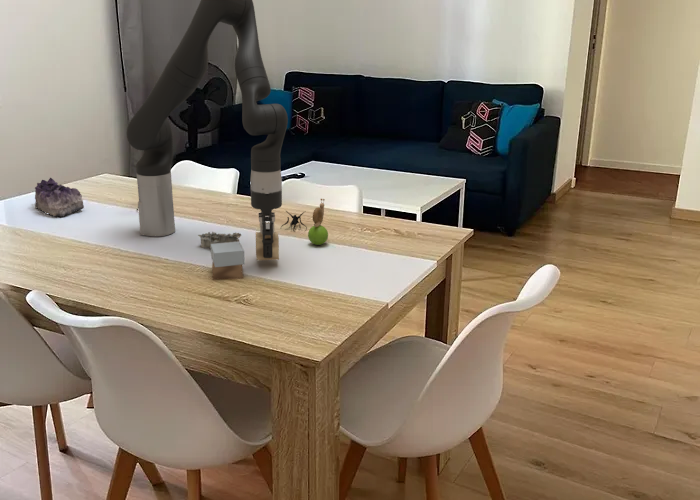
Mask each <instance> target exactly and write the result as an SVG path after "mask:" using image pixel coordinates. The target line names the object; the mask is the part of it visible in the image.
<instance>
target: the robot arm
mask: <svg viewBox="0 0 700 500" xmlns="http://www.w3.org/2000/svg"><path fill="white" fill-rule="evenodd" d="M219 23H223V24H225V25H226V24H227V25H229V26H232V27H233V30H234V31H235V35H236V37H237V41H238V42H237V43H238V44H237V45H238V46H237V47H238V48H237V50H236V51H237V52H236V55H235V58H234V72H235V75H236V76H235V77H236V79H237V82H238V85H239V90H240V93H241V104H242V107H241V108H242V111H241V112H242V115H241V119H242V121H241V122H242V126H243V129H244V130H245V131H246V133H248V134H249V135H250V136H264V135H267V137H266V139H264V140H263V141H262V142H261V143H260V142H259V143H257V144H255V145H253V146H252V147H251V150H250V166H251V167H250V169H251V171H250V205H251V207H252V208H253V209H255V210H260V212H258V223H259V230H260V231H259V232H260V233H261V234H262V237H263V240H262V242H263V257H264V258H272V243H273V242H274V240H273V234H274V232H275V222H276V215H275V213H276V212H274V211H273V210H277V209H280V208H281V207H282V206H283V187H282V186H283V183H282V182H283V179H282V172H281V171H282V170H281V167H282V166H281V162H282V161H281V152H282V147H283V142H284V140H285V136H286V132H287V129H288V123H289V122H288V120H289V118H288V117H289V116H288V113H287V111H286V109H285V107H284V106H283V105H282V104H279V103H267V104H258V102H259V101H262V100H264V99H266V98H268V97H269V96H270V94H271V89H272V88H271V84H270V81H269V78H268V74H267V72H266V68H265V65H264V61H263V58H262V54H261V50H260V49H261V48H260V42H259V33H258V28H257V27H258V26H257V17H256V11H255V5H254V1H253V0H200V1H199V4H198V6H197V9H196V10H195V13H194V15H193V17H192V19H191V22H190V24H189V26H188V28H187V30H186V31H185V33H184V35H183V37H182V38H181V40H180V42H179V44H178V45H177V47H176V49H175V50H174V52H173V53H172V55H171V56H170V58H169V59H168V62H167V63H166V65H165V67H164V69H163V71H162V72H161V74H160V75H159V77H158V79H157V80H156V82H155V84H154V86H153V88H152V89H151V90H150V93H149V94H148V96H147V98H146V99H145V100H144V102H143V103H142V105H141V106H140V108H139V109H138V110H137V111H136V112H135V114H134V115H133V117H132V118H131V119H130V120H129V123H128V125H127V128H126V139H127V141H128V145H130V146H131V147H132V148H133V149H135V150H137V151H138V150H139V151H143V153H142V156H141V157H140V158H139V160H137V162H136V164H135V171H136V182H137V194H138V201H137V209H138V211H139V212H138V219H139V220H138V221H139V232H140V236H147V237H163V236H169V235H172V234H174V233H175V232H176V227H175V226H176V223H175V210H174V209H175V208H174V196H173V183H172V181H173V180H172V169H171V168H172V167H171V166H172V165H173V164H172V163H173V159H174V153H173V152H174V151H173V150H174V148H173V147H174V146H173V145H174V143H173V140H174V139H173V130H172V126H171V125H172V124H171V123H170V121H169V119H168V118H169V116H170V115H171V114H172V112H174V111H175V110H176V109H177V108H178V107H179V106H181V105H182V104H183V103H184V102H185V101H186V100H187V99H188V98H190V96H191V95H192V94H193V93H194V92H195V90H196V89H197V88H198V87H199V85H200V83H201V81H202V80H203V79H204V77H205V74H206V73H207V70H208V66H209V51H208V46H209V40H210V38H211V35H212V34H213V31H214V30H215V28H216V27H217V26H218V24H219ZM265 235H270V236H271V238H265Z"/></svg>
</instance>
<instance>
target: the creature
mask: <svg viewBox="0 0 700 500" xmlns="http://www.w3.org/2000/svg"><path fill="white" fill-rule="evenodd" d="M285 212H286V213H287V214H288V215H289V216H290V217H291V219H292V220H291V221H290V217H289V216H287V221H286V222H285V223H284V224H282V225H281V226H280V228H282V227H283V226H285V225H288V223H289V222H290V224H289V226H288V229H293V232H295V227H297V224H298V225H299V228H298V230H300V231H301V230H302V229H301V225H302V226H303V227H305V230H304V232H305V231H307V229H308V227H307V226H306V225H305V224H304V223H303V222H302V220H301V219H302V218H301V216H302V215H303V214H304V213H306V210H305V211H303V212H302V213H301V214H300V215H298V216H297V214H294V215H292V214H291V213H289V212H288V211H287V210H285ZM288 229H285V231H287V230H288Z"/></svg>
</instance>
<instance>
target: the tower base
mask: <svg viewBox="0 0 700 500" xmlns="http://www.w3.org/2000/svg"><path fill="white" fill-rule="evenodd" d="M211 266H212V267H211V268H212V270H211V271H212V280H213V281H214V280H235V279H236V280H237V279H243V277H244V273H243V265H233V266H223V267H215V266H214V263H213V261H212V264H211Z"/></svg>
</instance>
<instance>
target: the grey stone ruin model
mask: <svg viewBox="0 0 700 500" xmlns="http://www.w3.org/2000/svg"><path fill="white" fill-rule="evenodd" d="M197 236H199V238H200V244H201V245H200V246H201V247H200V248H204V249H205V248H210V249H211V244H217V243H228V242H240V239H239V238H240V237H241V236H242V234H241V233H240V232H233V233H232V234H231V233H227V234H226V233H217V232H216V231H212V232H211V231H208V232H207V233H202V234H198V235H197Z"/></svg>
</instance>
